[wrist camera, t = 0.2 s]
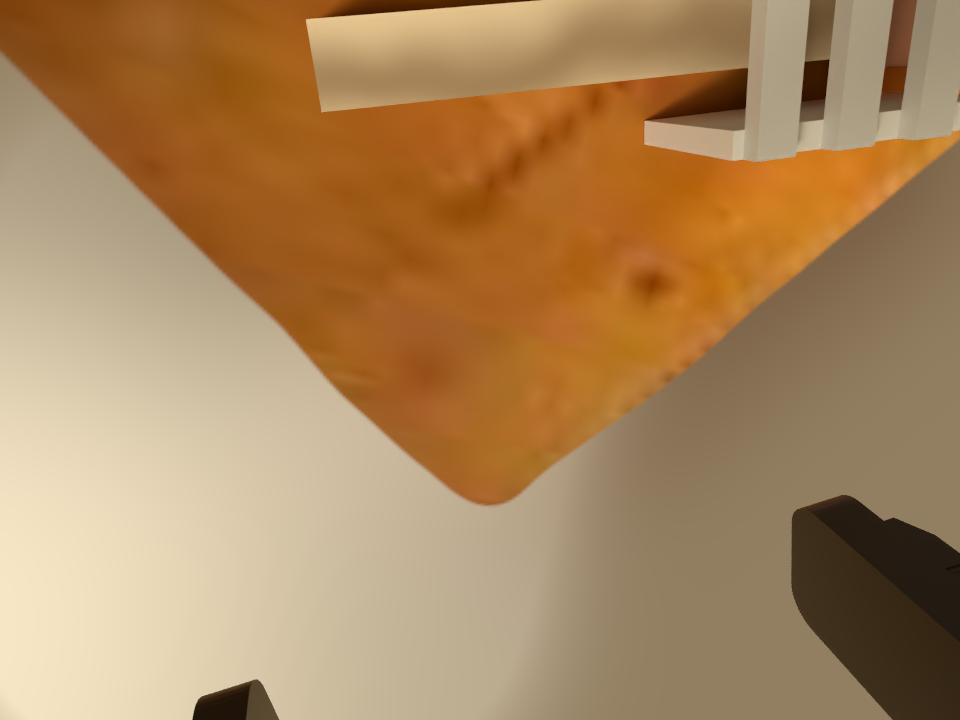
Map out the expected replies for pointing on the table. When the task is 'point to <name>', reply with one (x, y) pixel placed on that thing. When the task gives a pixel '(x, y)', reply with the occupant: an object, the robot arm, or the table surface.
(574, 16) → the rod
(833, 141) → the tunnel
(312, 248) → the table surface
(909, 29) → the block
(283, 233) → the table surface
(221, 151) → the table surface
